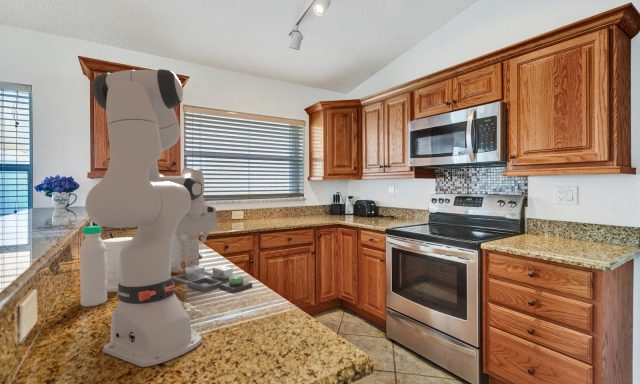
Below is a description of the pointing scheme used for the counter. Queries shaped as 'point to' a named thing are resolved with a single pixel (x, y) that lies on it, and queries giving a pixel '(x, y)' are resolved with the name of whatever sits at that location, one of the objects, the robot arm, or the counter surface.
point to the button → (235, 280)
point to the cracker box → (185, 252)
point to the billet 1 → (195, 272)
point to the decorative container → (114, 261)
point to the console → (235, 286)
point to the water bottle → (93, 268)
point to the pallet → (206, 283)
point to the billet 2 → (222, 273)
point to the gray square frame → (185, 275)
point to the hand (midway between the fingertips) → (192, 243)
